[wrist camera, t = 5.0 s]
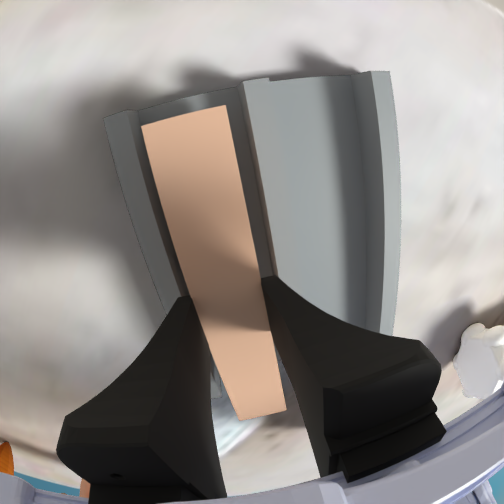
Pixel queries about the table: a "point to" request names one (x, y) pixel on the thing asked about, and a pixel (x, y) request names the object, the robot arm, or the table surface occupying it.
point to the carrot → (6, 459)
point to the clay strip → (217, 252)
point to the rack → (292, 190)
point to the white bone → (481, 360)
